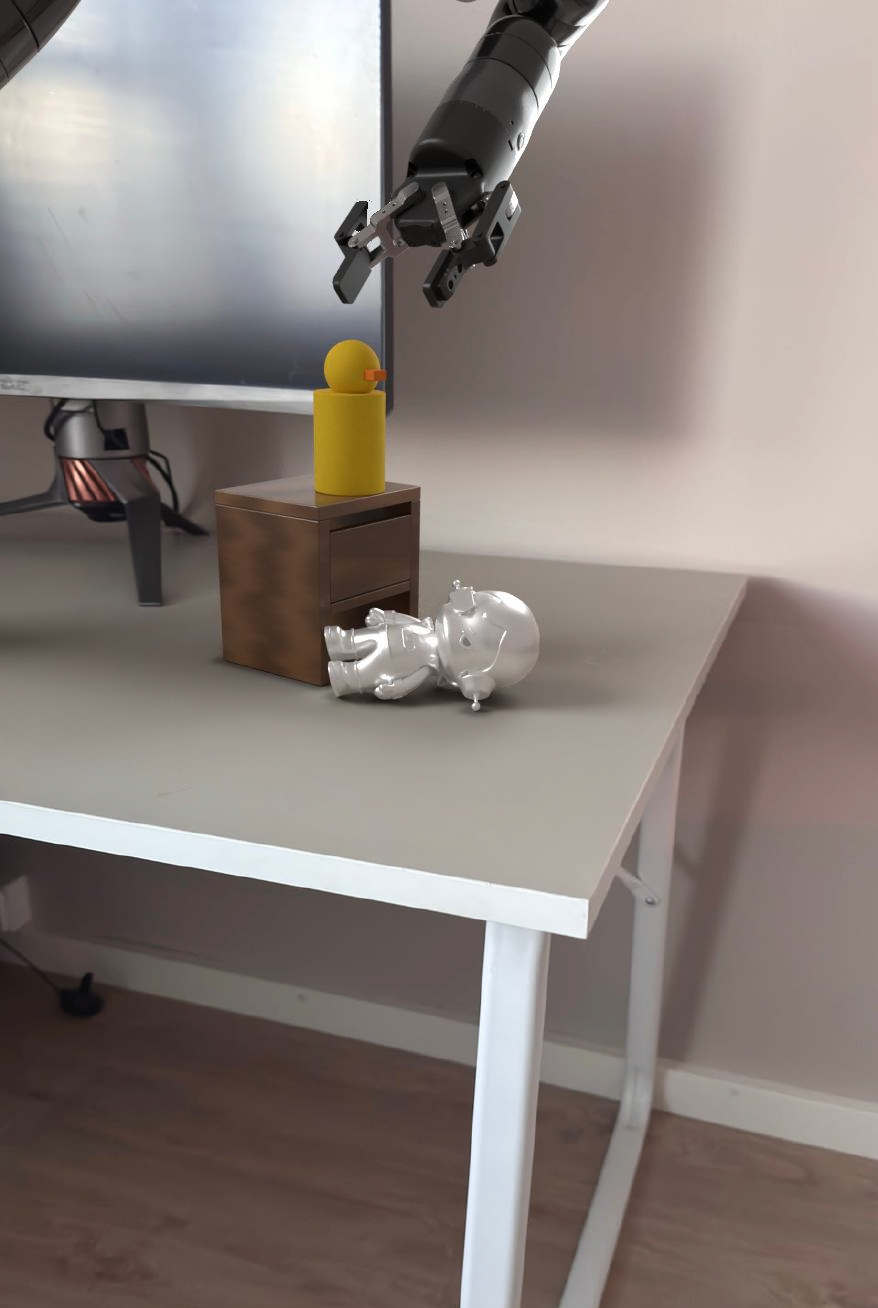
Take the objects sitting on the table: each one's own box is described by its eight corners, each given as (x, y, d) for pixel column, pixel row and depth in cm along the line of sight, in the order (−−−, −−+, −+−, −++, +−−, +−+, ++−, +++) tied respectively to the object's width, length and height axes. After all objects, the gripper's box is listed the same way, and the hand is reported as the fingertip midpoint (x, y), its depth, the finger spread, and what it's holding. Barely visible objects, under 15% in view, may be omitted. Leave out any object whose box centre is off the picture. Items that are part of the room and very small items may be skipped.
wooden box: (222, 660, 91) (214, 489, 86) (323, 627, 100) (321, 472, 95) (321, 686, 86) (318, 506, 81) (418, 649, 95) (421, 486, 90)
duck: (300, 489, 87) (297, 338, 83) (352, 482, 90) (351, 337, 86) (353, 500, 83) (352, 342, 79) (405, 492, 87) (407, 341, 83)
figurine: (315, 577, 83) (525, 540, 82) (334, 628, 89) (529, 595, 89) (329, 711, 79) (550, 674, 78) (348, 753, 85) (552, 720, 85)
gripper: (382, 102, 93) (289, 257, 89) (536, 91, 86) (442, 259, 82) (420, 182, 99) (335, 330, 95) (567, 178, 92) (482, 338, 88)
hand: (385, 297), depth 88 cm, fingers open, 8 cm apart
